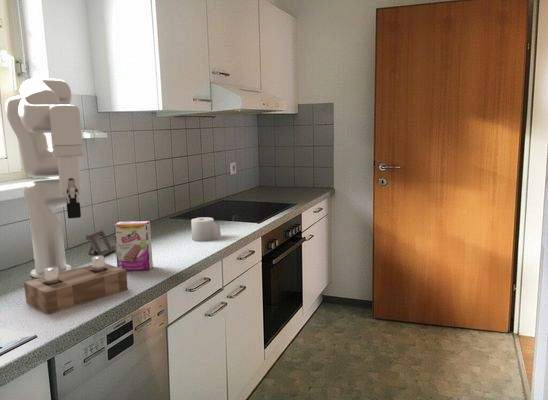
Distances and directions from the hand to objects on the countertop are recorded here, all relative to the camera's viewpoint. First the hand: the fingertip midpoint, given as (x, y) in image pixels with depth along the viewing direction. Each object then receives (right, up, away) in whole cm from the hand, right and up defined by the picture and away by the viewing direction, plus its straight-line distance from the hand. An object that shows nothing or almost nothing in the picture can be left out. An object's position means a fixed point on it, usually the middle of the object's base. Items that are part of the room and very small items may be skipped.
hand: (74, 214), depth 132 cm
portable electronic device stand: (-13, -17, +56) cm, 60 cm away
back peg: (+2, -19, +15) cm, 24 cm away
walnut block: (-3, -24, +10) cm, 26 cm away
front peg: (-8, -21, +4) cm, 23 cm away
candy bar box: (+7, -20, +34) cm, 40 cm away
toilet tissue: (+26, -13, +75) cm, 80 cm away
